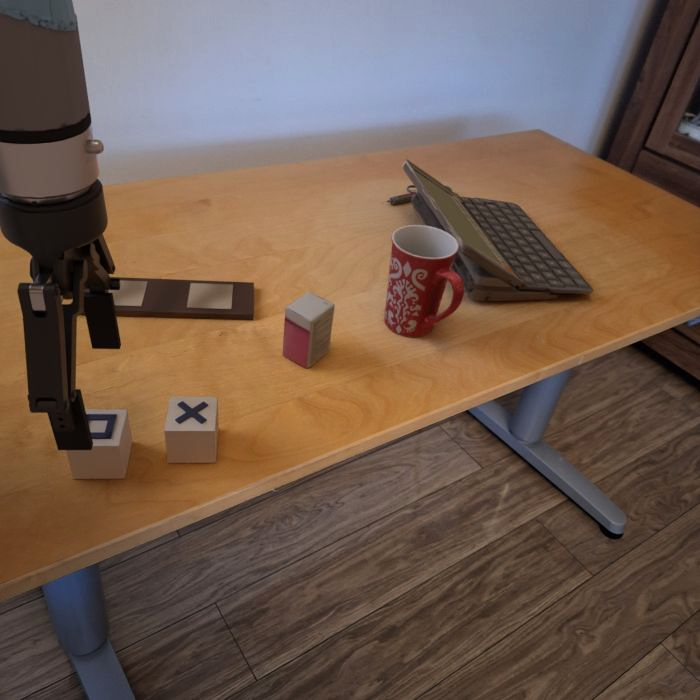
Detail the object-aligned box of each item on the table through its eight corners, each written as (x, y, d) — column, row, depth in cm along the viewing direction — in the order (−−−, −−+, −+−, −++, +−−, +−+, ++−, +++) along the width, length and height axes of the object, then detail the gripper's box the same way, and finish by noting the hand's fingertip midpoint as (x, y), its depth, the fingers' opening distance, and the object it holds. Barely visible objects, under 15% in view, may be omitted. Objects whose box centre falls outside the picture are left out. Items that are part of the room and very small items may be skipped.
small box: (304, 337, 84) (308, 289, 79) (330, 351, 83) (335, 303, 78) (280, 355, 81) (283, 306, 76) (307, 370, 79) (311, 321, 74)
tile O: (73, 479, 62) (63, 444, 59) (84, 441, 66) (76, 407, 63) (124, 478, 63) (118, 444, 60) (132, 441, 67) (127, 407, 64)
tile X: (167, 463, 65) (163, 429, 62) (173, 428, 69) (169, 394, 66) (216, 463, 66) (214, 429, 63) (218, 428, 70) (217, 395, 67)
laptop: (446, 306, 94) (462, 246, 87) (392, 208, 118) (401, 155, 111) (593, 302, 100) (619, 245, 93) (514, 209, 124) (529, 159, 117)
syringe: (367, 198, 120) (368, 190, 119) (437, 184, 129) (438, 176, 128) (391, 216, 115) (392, 207, 114) (461, 200, 124) (463, 192, 123)
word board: (70, 314, 82) (69, 308, 82) (84, 281, 88) (82, 275, 88) (253, 320, 86) (253, 313, 85) (253, 287, 92) (253, 281, 91)
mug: (365, 312, 90) (378, 230, 82) (414, 298, 95) (431, 219, 86) (415, 363, 83) (436, 279, 74) (467, 346, 87) (491, 264, 78)
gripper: (57, 277, 36) (108, 500, 50) (129, 123, 55) (152, 314, 69) (-83, 273, 35) (8, 502, 49) (39, 117, 54) (81, 313, 68)
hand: (92, 392), depth 59 cm, fingers open, 13 cm apart
